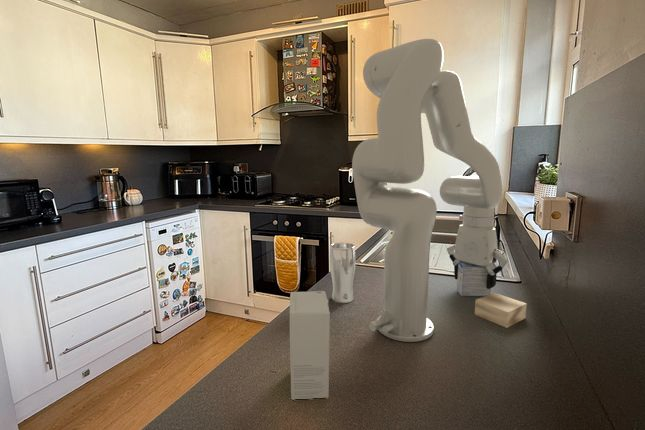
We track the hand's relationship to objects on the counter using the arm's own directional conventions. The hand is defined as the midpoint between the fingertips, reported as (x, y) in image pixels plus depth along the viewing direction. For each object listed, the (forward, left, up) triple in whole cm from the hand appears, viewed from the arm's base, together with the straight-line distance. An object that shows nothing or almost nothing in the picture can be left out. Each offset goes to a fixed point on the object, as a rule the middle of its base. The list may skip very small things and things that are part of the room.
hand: (473, 282), depth 97 cm
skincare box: (-58, -2, -3) cm, 58 cm away
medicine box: (0, 0, -3) cm, 3 cm away
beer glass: (-30, +21, -3) cm, 37 cm away
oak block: (-8, -11, -4) cm, 14 cm away
